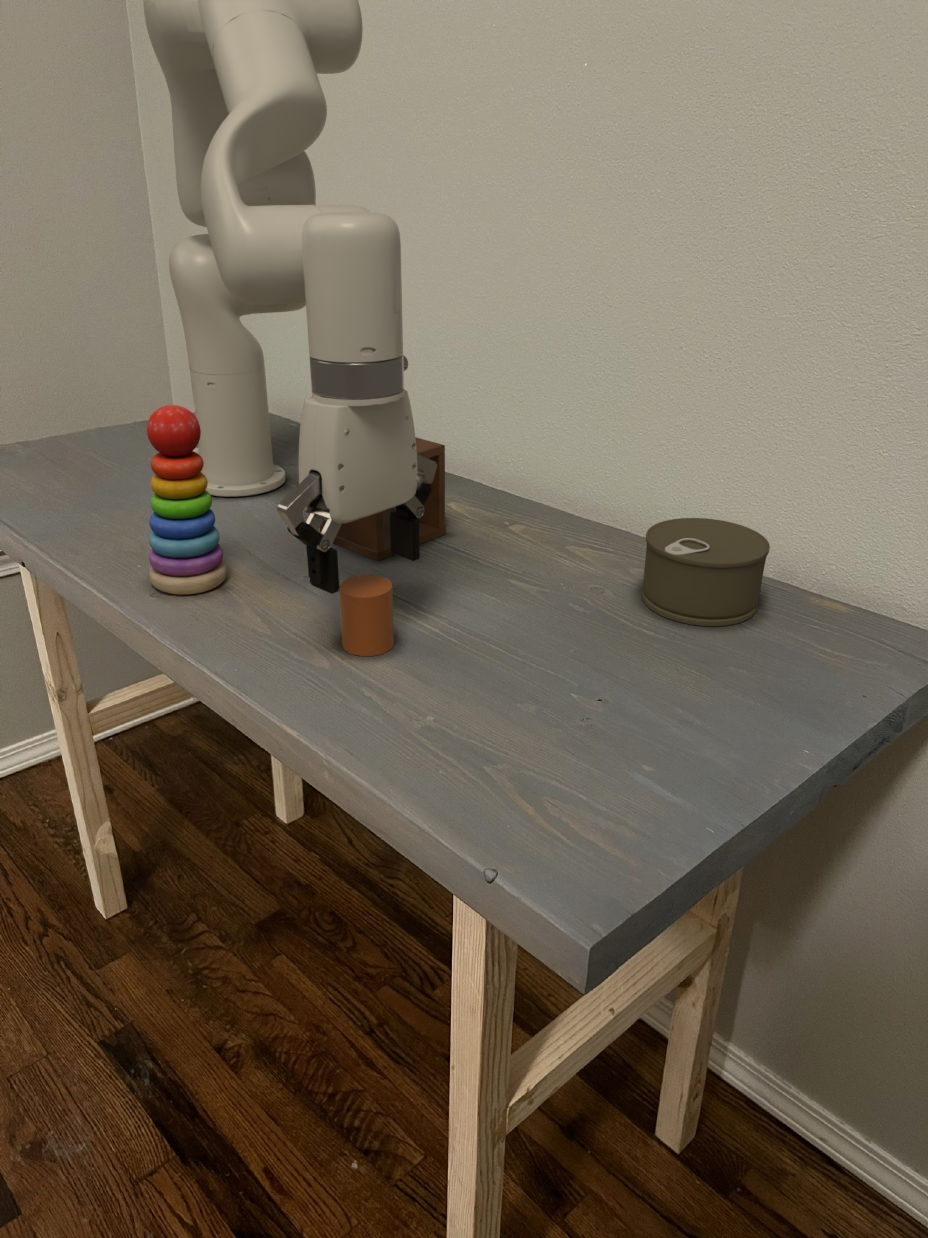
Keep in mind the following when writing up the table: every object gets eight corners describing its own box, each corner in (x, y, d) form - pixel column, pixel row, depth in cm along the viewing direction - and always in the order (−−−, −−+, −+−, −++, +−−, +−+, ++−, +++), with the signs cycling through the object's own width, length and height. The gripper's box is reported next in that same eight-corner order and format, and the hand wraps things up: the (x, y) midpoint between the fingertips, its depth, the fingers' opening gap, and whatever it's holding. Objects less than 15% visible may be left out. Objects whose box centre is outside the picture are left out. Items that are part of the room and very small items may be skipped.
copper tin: (331, 644, 86) (328, 586, 83) (369, 627, 89) (367, 570, 87) (366, 662, 83) (364, 601, 81) (404, 643, 86) (403, 585, 84)
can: (783, 607, 94) (795, 544, 91) (705, 639, 88) (714, 573, 85) (692, 568, 103) (700, 509, 100) (615, 594, 96) (621, 533, 93)
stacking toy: (162, 604, 93) (135, 420, 85) (141, 576, 99) (113, 401, 91) (238, 587, 97) (219, 409, 89) (213, 561, 103) (193, 392, 95)
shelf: (319, 537, 110) (314, 447, 105) (387, 514, 117) (384, 428, 112) (378, 561, 104) (374, 466, 99) (445, 534, 111) (445, 444, 106)
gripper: (401, 357, 83) (405, 536, 91) (241, 388, 72) (261, 589, 79) (463, 368, 79) (462, 555, 86) (303, 403, 67) (319, 616, 75)
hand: (366, 572), depth 83 cm, fingers open, 9 cm apart
